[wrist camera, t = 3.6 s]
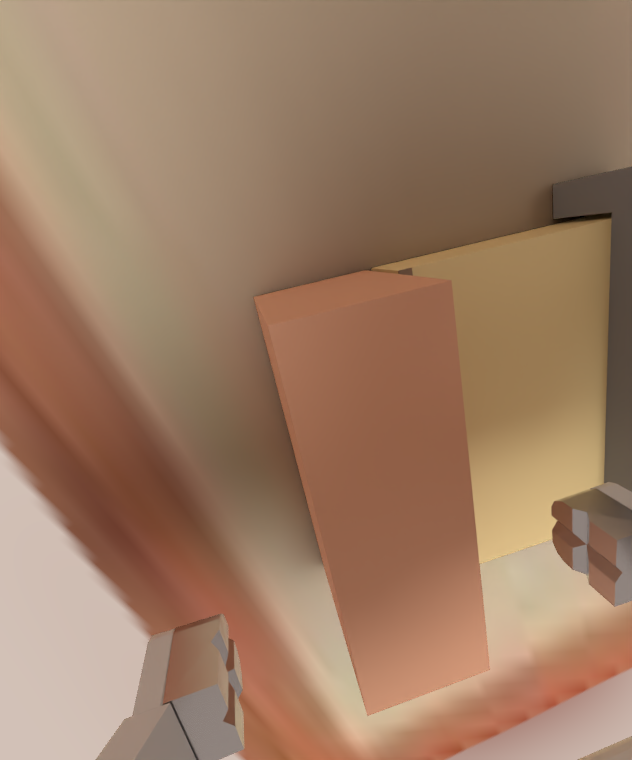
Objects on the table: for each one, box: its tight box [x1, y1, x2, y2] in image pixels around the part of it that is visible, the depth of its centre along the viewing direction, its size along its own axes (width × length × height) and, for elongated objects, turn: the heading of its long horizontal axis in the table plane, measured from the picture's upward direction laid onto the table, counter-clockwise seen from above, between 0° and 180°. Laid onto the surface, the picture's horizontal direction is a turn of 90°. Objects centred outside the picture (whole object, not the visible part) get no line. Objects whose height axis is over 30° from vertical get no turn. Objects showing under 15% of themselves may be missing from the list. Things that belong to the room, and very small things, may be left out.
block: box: [254, 270, 490, 716], centre depth 13 cm, size 4×12×6 cm, turn 12°
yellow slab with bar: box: [371, 167, 632, 564], centre depth 15 cm, size 10×15×4 cm
